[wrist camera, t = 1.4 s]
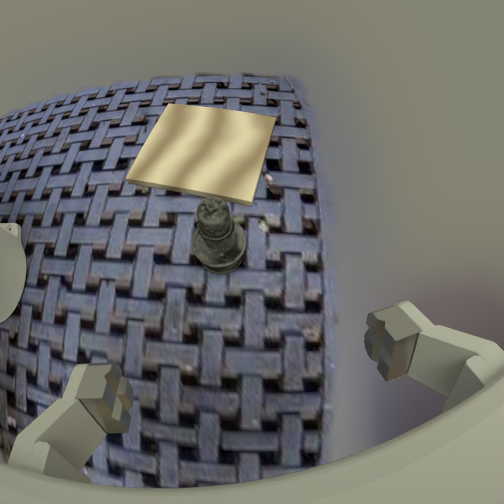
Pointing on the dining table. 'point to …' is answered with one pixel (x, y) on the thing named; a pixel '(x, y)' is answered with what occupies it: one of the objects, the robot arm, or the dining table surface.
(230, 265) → the weathered chess pawn
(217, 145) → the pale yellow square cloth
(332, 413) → the dining table surface
